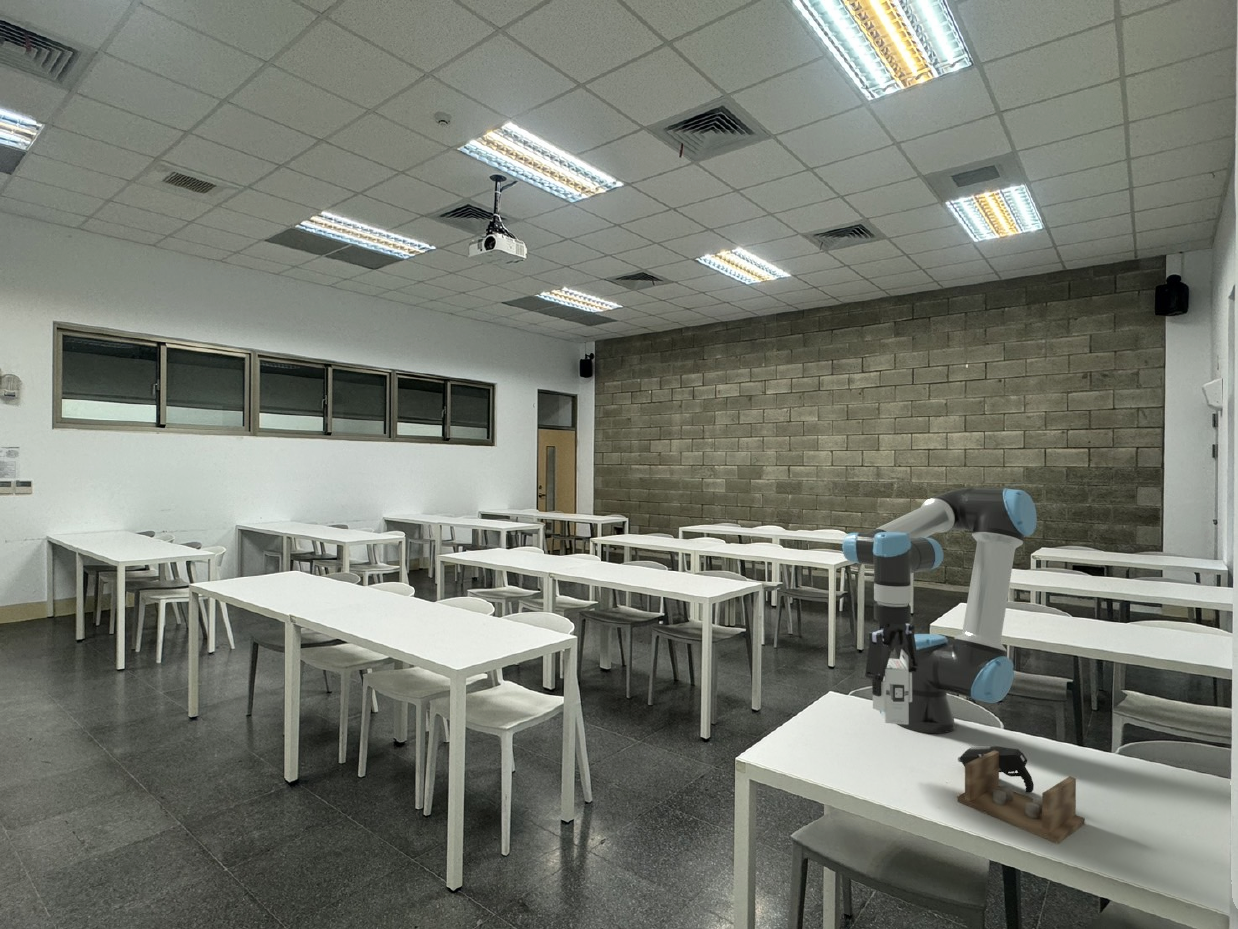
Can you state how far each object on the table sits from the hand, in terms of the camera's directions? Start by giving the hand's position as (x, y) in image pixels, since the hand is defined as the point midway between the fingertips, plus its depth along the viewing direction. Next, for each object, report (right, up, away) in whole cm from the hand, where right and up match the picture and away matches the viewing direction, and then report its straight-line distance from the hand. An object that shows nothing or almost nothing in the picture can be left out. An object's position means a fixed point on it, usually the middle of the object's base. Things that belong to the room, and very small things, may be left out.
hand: (892, 705), depth 142 cm
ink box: (0, -3, 0) cm, 3 cm away
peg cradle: (+18, -15, -15) cm, 28 cm away
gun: (+22, -16, -2) cm, 27 cm away
